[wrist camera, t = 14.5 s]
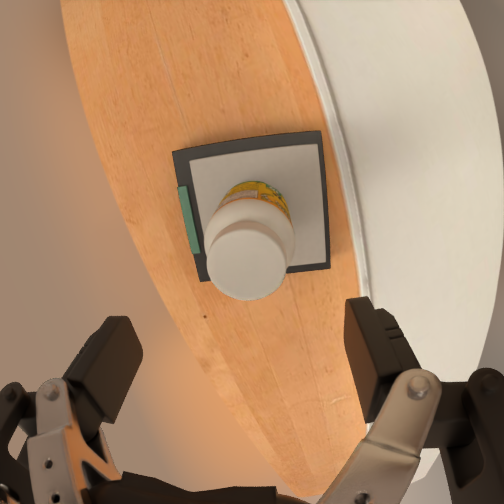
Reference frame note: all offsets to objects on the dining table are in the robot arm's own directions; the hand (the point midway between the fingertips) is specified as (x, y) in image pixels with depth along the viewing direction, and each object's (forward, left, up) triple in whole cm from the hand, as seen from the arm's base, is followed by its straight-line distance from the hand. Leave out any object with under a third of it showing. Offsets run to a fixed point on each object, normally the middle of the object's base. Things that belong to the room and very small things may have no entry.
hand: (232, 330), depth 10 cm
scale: (0, 0, -17) cm, 17 cm away
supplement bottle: (0, 0, -15) cm, 15 cm away
